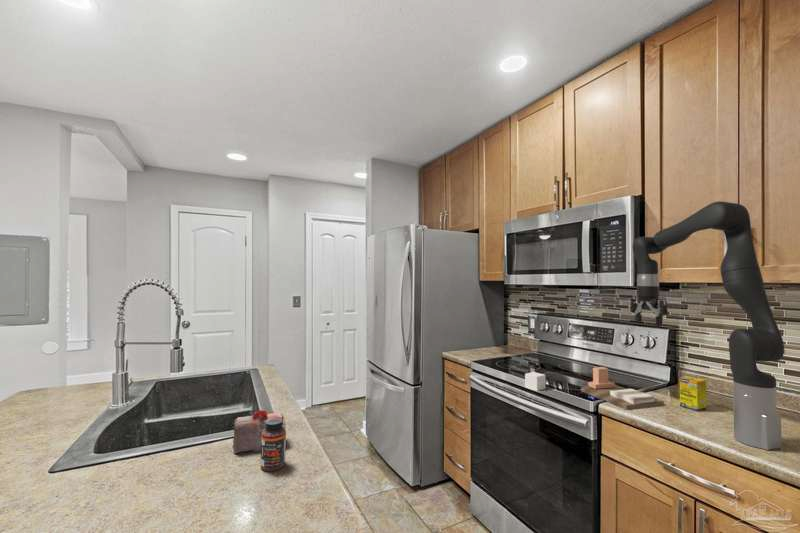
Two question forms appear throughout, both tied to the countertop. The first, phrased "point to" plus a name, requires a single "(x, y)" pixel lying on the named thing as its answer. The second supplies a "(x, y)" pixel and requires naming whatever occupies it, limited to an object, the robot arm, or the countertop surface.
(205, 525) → the countertop surface
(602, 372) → the stub
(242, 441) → the pink box with bow
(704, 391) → the supplement box
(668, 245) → the robot arm
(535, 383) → the white cube
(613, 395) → the board
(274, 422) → the supplement bottle
